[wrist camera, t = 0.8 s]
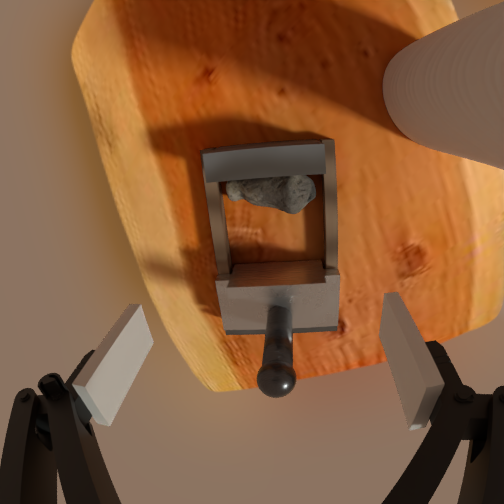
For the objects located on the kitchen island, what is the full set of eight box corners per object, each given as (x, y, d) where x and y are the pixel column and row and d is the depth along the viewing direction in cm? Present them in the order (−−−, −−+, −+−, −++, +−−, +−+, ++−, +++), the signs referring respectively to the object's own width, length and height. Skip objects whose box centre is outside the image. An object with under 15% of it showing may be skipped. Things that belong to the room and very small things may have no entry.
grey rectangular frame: (204, 148, 39) (183, 156, 30) (331, 138, 36) (344, 143, 28) (230, 320, 49) (220, 358, 40) (333, 315, 47) (341, 354, 38)
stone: (226, 195, 42) (251, 243, 39) (215, 172, 37) (242, 223, 34) (292, 164, 42) (322, 208, 39) (288, 138, 37) (323, 184, 34)
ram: (220, 264, 44) (186, 347, 28) (335, 258, 42) (360, 342, 26) (228, 314, 48) (203, 403, 31) (334, 309, 46) (351, 401, 29)
